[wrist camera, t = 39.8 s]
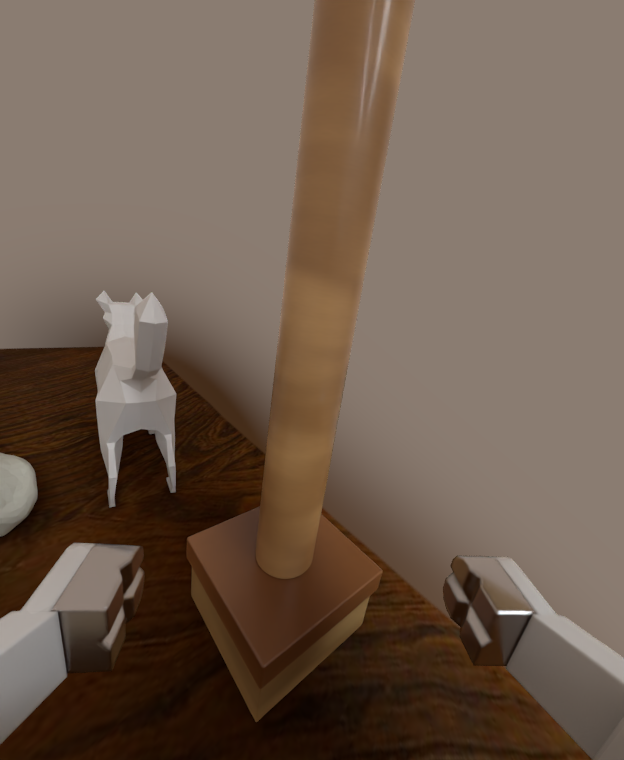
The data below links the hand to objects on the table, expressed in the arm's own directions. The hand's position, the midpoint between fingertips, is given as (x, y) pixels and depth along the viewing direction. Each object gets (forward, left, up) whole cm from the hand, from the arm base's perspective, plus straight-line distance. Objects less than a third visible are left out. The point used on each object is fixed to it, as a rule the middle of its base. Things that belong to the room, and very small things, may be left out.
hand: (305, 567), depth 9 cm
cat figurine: (+13, -14, -9) cm, 21 cm away
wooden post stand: (+1, -5, -8) cm, 10 cm away
